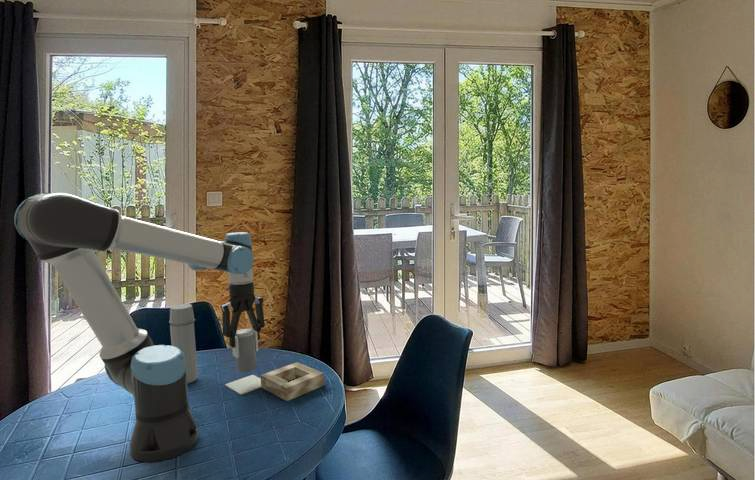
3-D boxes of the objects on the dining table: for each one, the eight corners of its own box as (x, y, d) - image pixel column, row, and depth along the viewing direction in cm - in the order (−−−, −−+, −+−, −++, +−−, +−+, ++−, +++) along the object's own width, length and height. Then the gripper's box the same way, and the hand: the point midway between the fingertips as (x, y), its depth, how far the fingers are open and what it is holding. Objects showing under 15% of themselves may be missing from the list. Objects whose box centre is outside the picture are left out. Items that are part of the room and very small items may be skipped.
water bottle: (193, 385, 142) (187, 309, 139) (169, 385, 142) (163, 309, 140) (204, 373, 151) (199, 302, 148) (182, 373, 151) (176, 302, 149)
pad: (240, 395, 135) (240, 393, 135) (225, 385, 141) (224, 384, 141) (269, 384, 142) (269, 383, 142) (252, 375, 149) (252, 374, 149)
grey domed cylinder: (242, 373, 137) (240, 336, 136) (233, 368, 141) (230, 332, 140) (260, 367, 141) (257, 331, 140) (250, 362, 145) (247, 327, 144)
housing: (287, 401, 130) (286, 388, 130) (261, 387, 140) (260, 375, 139) (324, 385, 140) (323, 373, 140) (297, 373, 150) (297, 362, 149)
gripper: (218, 289, 128) (223, 365, 131) (274, 278, 142) (277, 347, 145) (206, 285, 134) (211, 359, 136) (261, 275, 147) (265, 342, 150)
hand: (245, 353), depth 141 cm, fingers closed on grey domed cylinder, 6 cm apart
